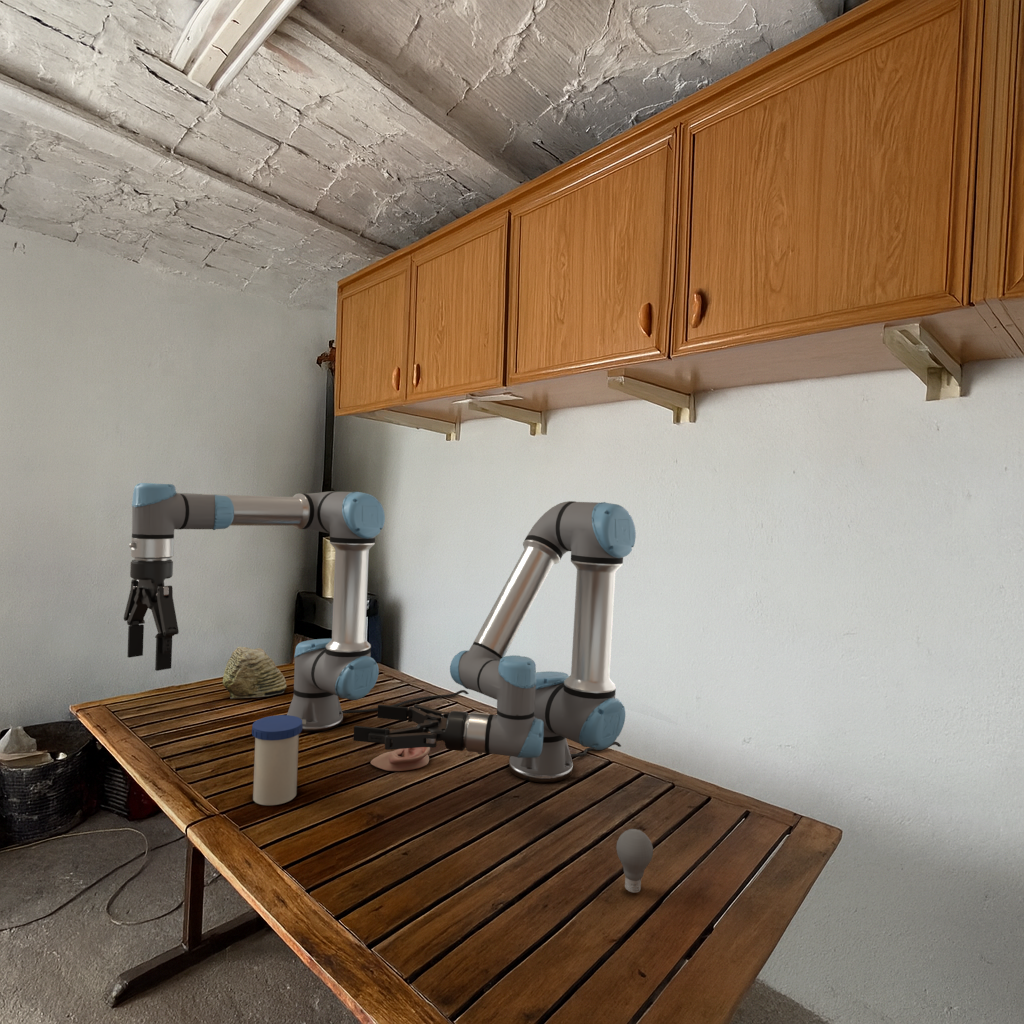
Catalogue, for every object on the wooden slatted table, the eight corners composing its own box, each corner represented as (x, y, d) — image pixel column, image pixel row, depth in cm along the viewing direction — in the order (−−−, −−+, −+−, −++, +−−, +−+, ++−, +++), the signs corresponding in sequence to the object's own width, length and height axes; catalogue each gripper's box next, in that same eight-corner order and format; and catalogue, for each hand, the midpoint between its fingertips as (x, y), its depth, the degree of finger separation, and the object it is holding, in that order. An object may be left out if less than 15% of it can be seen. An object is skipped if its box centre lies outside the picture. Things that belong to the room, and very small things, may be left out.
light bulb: (610, 879, 108) (613, 822, 108) (644, 879, 109) (647, 822, 109) (619, 902, 102) (622, 840, 102) (655, 901, 103) (658, 840, 103)
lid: (308, 724, 138) (308, 715, 138) (293, 741, 128) (293, 732, 128) (262, 722, 138) (263, 714, 138) (243, 739, 128) (244, 730, 128)
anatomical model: (365, 751, 148) (384, 733, 160) (364, 767, 148) (384, 749, 160) (419, 758, 146) (435, 740, 157) (418, 775, 146) (434, 756, 157)
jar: (302, 786, 138) (304, 718, 138) (288, 806, 129) (291, 733, 129) (262, 785, 138) (264, 717, 137) (245, 804, 129) (248, 731, 129)
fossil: (218, 695, 195) (220, 647, 195) (278, 685, 208) (279, 640, 207) (228, 703, 189) (230, 653, 188) (289, 692, 201) (290, 645, 201)
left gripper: (108, 554, 134) (104, 654, 134) (159, 565, 118) (155, 678, 119) (146, 552, 140) (143, 648, 140) (199, 563, 124) (195, 671, 124)
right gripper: (452, 775, 116) (341, 763, 119) (477, 728, 141) (385, 719, 144) (454, 735, 116) (343, 723, 119) (479, 695, 141) (387, 686, 144)
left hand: (148, 662), depth 129 cm, fingers open, 13 cm apart
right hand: (366, 721), depth 131 cm, fingers open, 13 cm apart
